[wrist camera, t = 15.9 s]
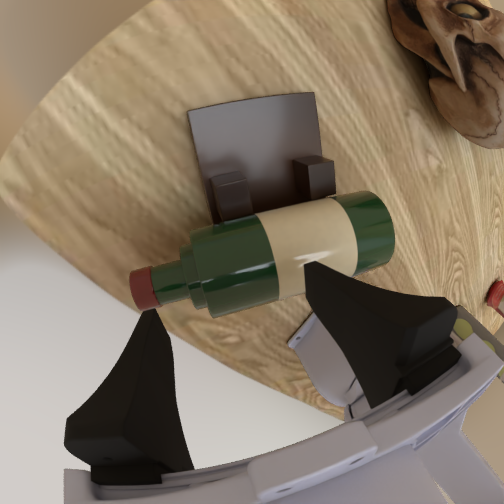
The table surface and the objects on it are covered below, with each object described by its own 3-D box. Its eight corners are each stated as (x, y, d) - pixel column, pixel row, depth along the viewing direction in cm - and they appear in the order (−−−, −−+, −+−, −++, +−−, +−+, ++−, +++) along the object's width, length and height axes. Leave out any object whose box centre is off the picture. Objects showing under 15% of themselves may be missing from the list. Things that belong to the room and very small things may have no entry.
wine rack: (324, 271, 26) (342, 291, 23) (232, 300, 24) (241, 326, 21) (308, 92, 18) (332, 90, 15) (186, 111, 16) (188, 109, 13)
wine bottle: (351, 180, 19) (399, 206, 15) (350, 244, 22) (390, 281, 17) (127, 233, 17) (111, 280, 12) (153, 297, 20) (151, 353, 15)
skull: (391, -41, 11) (500, -50, 1) (468, 56, 20) (551, 79, 9) (345, 51, 17) (497, 59, 6) (438, 145, 26) (531, 189, 15)
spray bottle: (463, 304, 40) (529, 366, 23) (451, 324, 42) (512, 387, 25) (454, 304, 39) (524, 373, 22) (441, 326, 41) (506, 395, 24)
